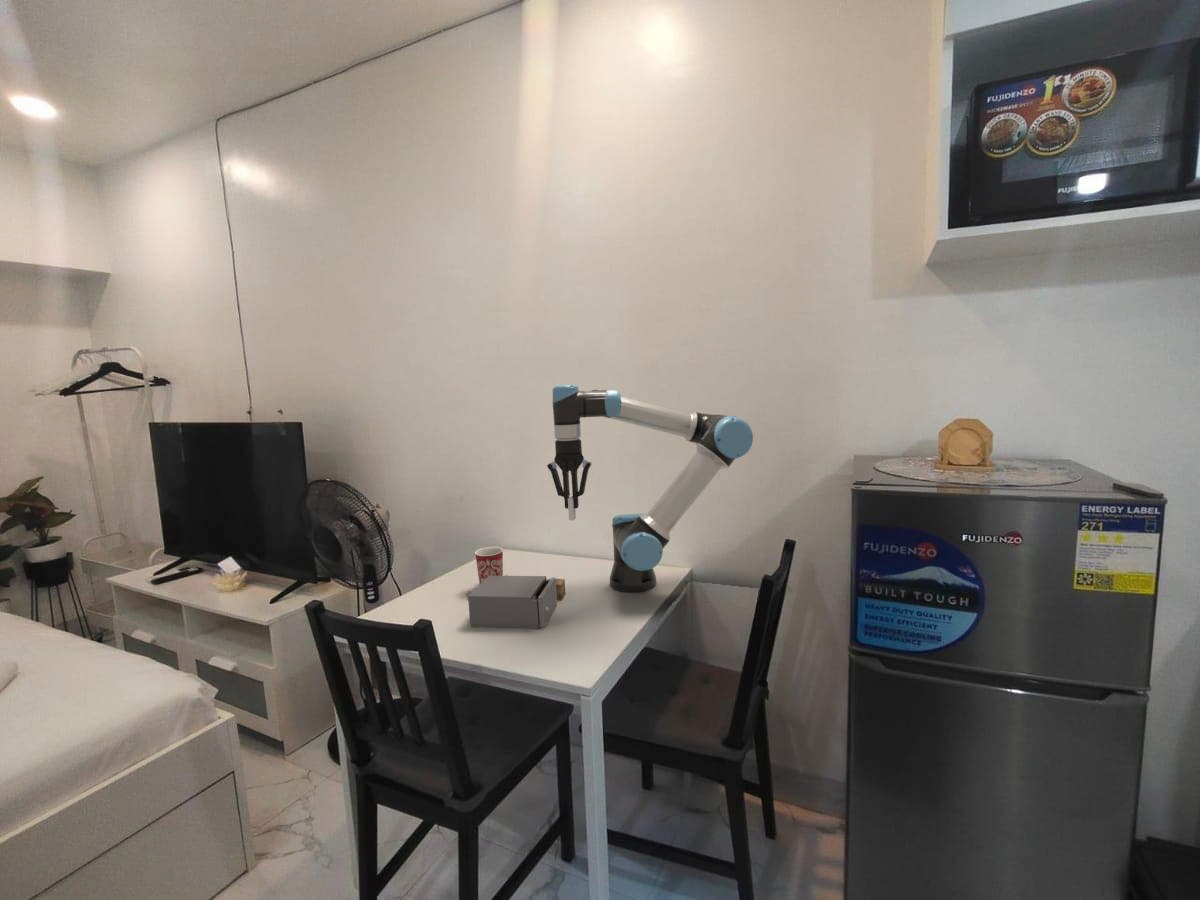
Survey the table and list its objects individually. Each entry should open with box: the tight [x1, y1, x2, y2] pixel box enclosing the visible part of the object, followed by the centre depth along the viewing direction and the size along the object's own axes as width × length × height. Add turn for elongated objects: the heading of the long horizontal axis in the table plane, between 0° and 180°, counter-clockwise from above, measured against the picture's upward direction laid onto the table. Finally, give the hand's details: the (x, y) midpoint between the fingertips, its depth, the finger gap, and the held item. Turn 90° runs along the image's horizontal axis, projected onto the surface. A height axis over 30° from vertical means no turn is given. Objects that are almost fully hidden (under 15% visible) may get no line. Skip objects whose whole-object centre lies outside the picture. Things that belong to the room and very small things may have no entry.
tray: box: [538, 577, 558, 629], centre depth 153 cm, size 20×15×8 cm
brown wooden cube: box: [556, 578, 566, 601], centre depth 166 cm, size 5×5×5 cm
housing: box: [467, 575, 551, 630], centre depth 154 cm, size 20×16×9 cm
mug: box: [474, 546, 504, 585], centre depth 175 cm, size 13×9×14 cm
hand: (572, 519), depth 156 cm, fingers closed
